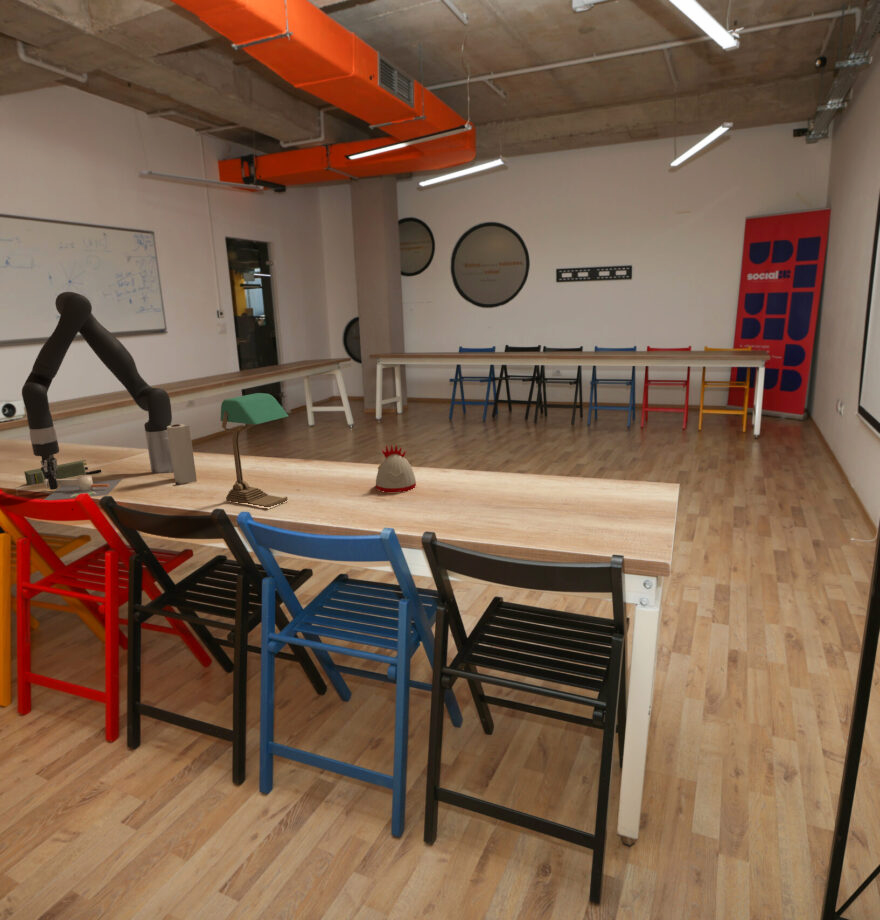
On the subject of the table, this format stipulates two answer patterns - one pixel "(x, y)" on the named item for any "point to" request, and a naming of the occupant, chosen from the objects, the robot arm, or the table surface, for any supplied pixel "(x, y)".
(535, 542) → the table surface
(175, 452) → the paper towel roll
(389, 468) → the beige knit hat
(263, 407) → the banker's lamp
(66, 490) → the gauge board
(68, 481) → the lever with orange pointer
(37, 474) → the handheld radio
